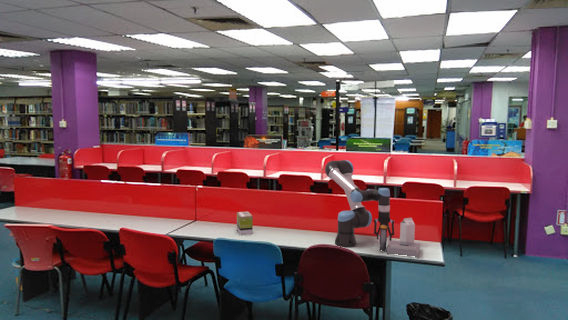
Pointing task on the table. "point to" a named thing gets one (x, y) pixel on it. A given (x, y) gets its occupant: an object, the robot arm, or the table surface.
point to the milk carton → (407, 230)
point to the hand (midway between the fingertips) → (384, 244)
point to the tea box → (244, 223)
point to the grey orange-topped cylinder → (383, 237)
